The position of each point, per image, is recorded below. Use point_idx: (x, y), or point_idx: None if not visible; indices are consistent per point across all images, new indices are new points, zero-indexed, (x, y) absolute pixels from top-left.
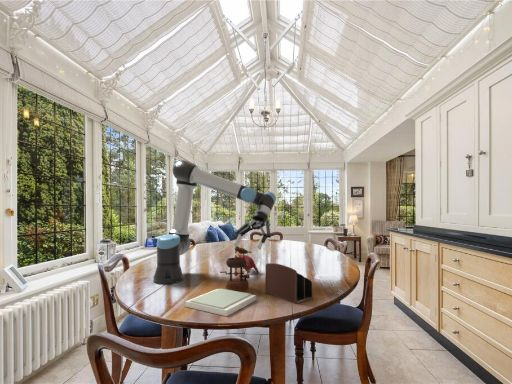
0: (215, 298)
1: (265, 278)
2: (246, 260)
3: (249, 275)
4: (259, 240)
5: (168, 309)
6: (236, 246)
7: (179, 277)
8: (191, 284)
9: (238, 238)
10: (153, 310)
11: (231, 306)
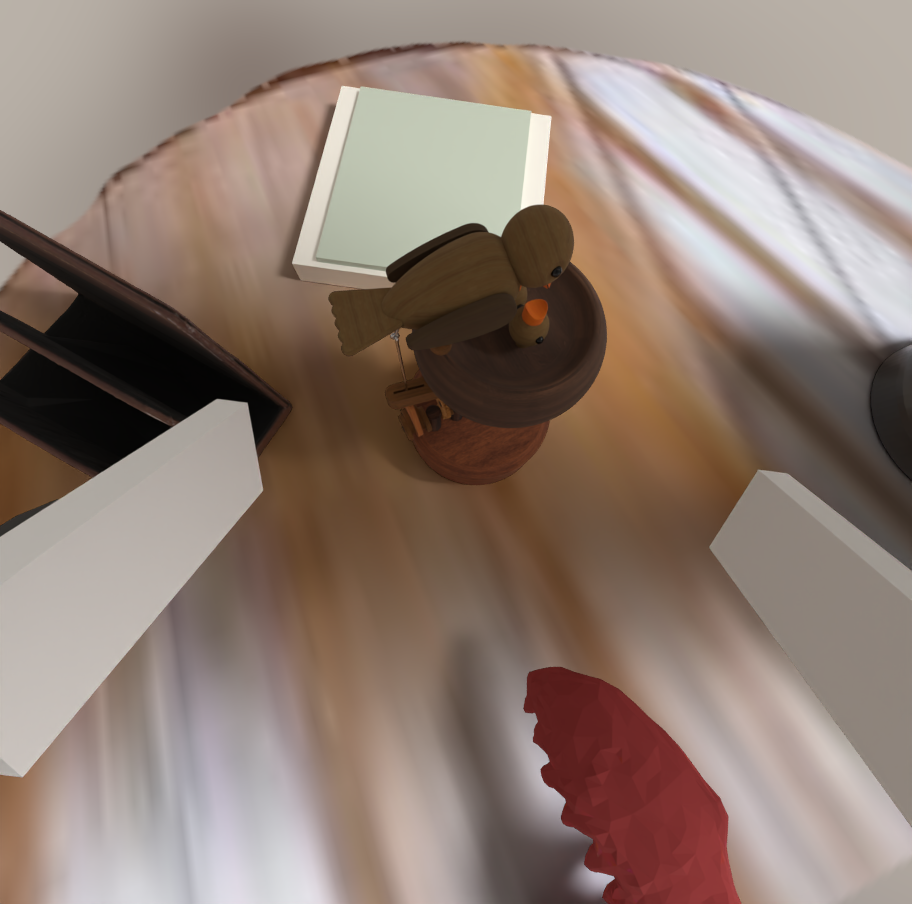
0: (447, 157)
1: (250, 369)
2: (644, 860)
3: (398, 417)
4: (142, 478)
5: (581, 103)
6: (729, 526)
7: (902, 408)
8: (766, 398)
9: (900, 609)
10: (621, 84)
11: (342, 121)
